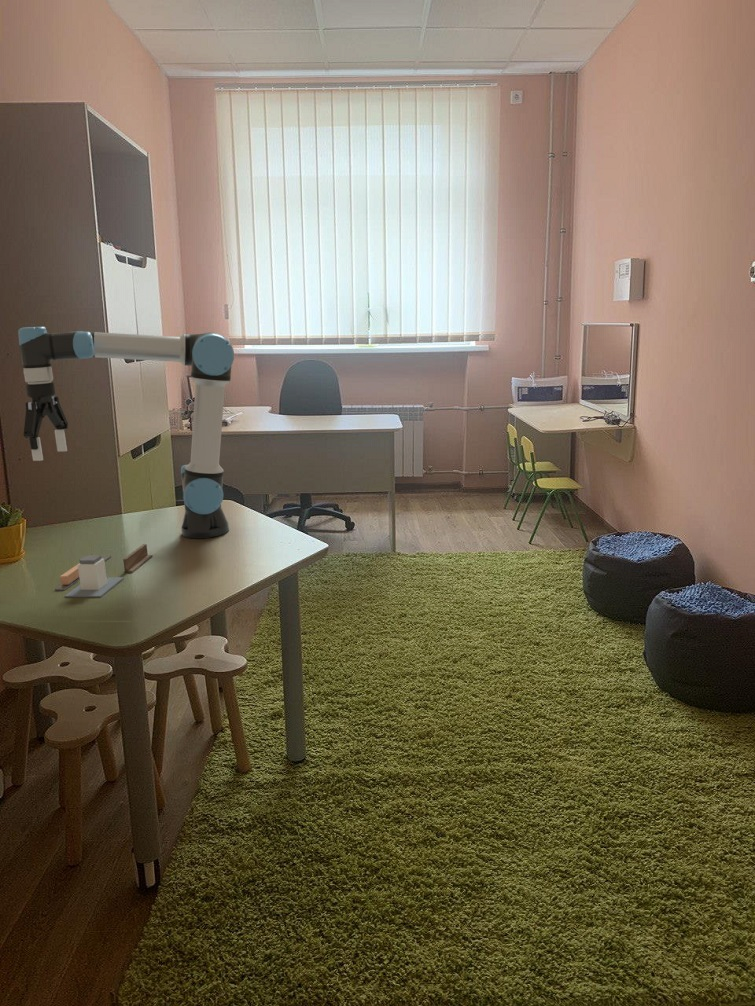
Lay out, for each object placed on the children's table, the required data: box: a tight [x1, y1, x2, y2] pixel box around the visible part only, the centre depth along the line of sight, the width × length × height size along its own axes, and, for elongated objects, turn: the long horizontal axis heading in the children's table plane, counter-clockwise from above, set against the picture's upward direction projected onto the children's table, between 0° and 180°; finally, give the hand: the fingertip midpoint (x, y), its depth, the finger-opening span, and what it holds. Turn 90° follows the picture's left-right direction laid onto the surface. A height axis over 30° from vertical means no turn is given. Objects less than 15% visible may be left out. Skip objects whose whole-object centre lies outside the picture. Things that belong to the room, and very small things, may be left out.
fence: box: [122, 543, 153, 574], centre depth 231 cm, size 2×14×4 cm, turn 173°
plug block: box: [78, 555, 107, 590], centre depth 213 cm, size 5×5×8 cm
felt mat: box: [64, 576, 125, 598], centre depth 214 cm, size 10×14×1 cm
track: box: [54, 555, 112, 591], centre depth 227 cm, size 3×28×1 cm, turn 173°
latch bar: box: [59, 557, 84, 585], centre depth 221 cm, size 2×12×4 cm, turn 173°
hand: (50, 455), depth 232 cm, fingers open, 13 cm apart
